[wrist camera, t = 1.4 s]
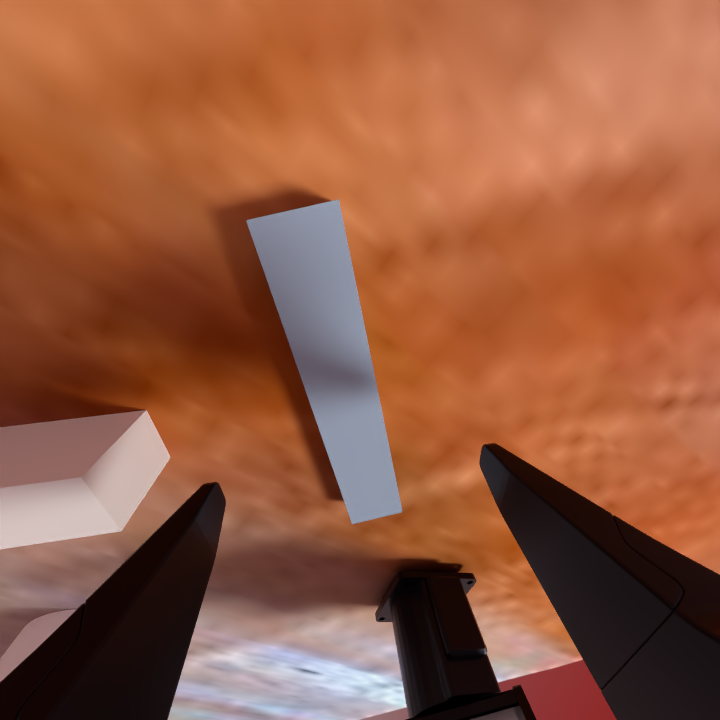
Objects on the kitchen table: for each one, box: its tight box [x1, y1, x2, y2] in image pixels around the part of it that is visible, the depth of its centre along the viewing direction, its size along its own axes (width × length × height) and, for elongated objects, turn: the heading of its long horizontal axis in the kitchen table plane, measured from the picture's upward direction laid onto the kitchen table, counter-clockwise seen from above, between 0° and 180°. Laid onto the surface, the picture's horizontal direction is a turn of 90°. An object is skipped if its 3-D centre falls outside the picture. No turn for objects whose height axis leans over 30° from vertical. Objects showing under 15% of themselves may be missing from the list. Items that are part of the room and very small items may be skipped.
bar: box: [246, 199, 402, 524], centre depth 14 cm, size 16×3×3 cm, turn 11°
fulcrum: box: [0, 410, 170, 549], centre depth 12 cm, size 11×12×5 cm
